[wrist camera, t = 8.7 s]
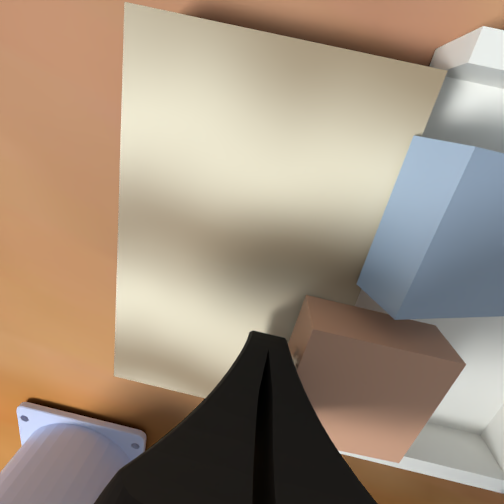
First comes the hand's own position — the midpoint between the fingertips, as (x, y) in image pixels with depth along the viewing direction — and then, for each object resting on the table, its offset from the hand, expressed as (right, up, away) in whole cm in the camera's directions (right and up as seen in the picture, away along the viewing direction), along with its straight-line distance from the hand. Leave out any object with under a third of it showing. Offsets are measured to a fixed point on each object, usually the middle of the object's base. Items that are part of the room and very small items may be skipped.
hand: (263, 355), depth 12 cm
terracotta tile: (+3, -1, +1) cm, 4 cm away
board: (-1, +4, +2) cm, 5 cm away
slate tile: (+6, +5, -1) cm, 8 cm away
